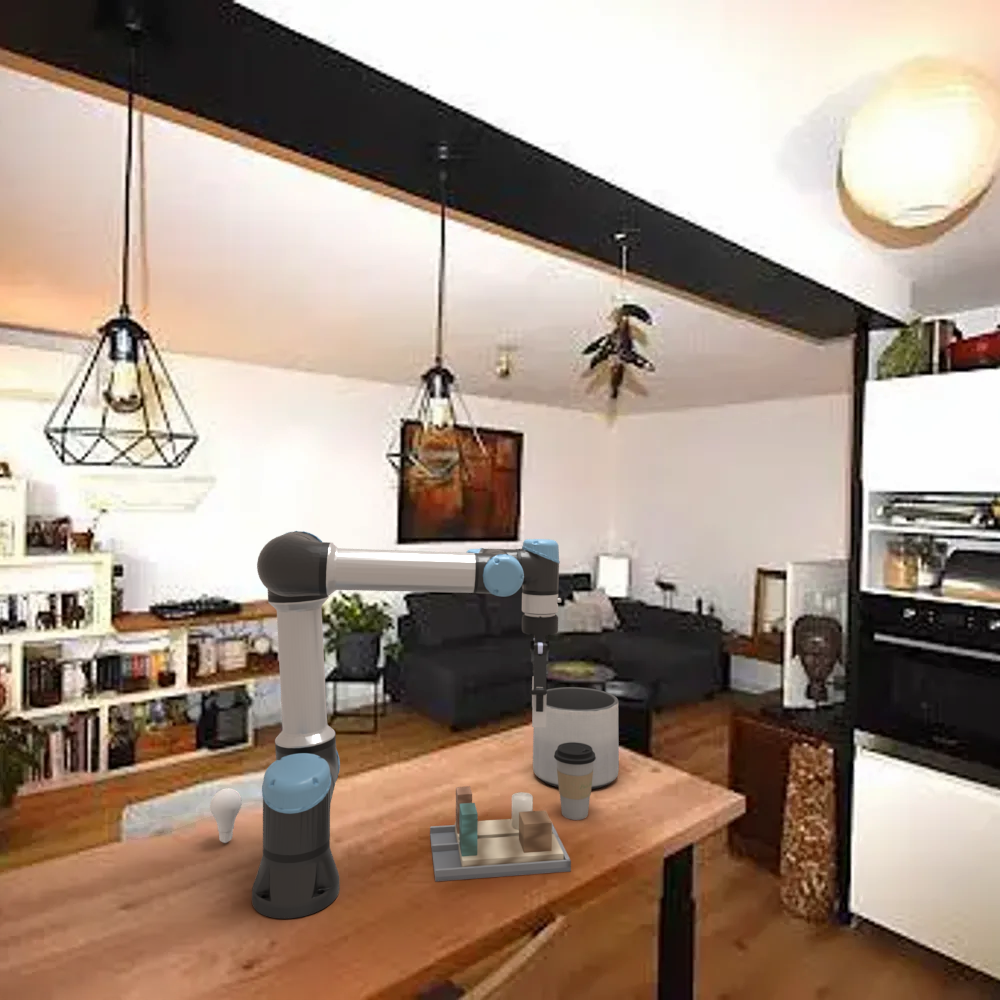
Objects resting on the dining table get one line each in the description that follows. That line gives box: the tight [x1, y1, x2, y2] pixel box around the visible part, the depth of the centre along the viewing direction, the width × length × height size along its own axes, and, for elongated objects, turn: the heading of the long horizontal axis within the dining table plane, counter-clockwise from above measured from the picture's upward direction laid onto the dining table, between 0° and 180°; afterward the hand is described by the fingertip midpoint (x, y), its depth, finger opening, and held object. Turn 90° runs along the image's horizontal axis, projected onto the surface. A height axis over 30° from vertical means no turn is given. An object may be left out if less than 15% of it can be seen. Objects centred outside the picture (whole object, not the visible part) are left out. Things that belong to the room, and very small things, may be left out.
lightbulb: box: [209, 787, 243, 844], centre depth 147 cm, size 6×6×11 cm
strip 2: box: [458, 802, 564, 867], centre depth 140 cm, size 20×8×10 cm, turn 99°
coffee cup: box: [554, 742, 596, 821], centre depth 161 cm, size 9×9×15 cm
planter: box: [532, 686, 620, 790], centre depth 184 cm, size 22×22×20 cm
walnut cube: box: [519, 809, 553, 853], centre depth 141 cm, size 6×6×6 cm
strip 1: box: [454, 785, 519, 843], centre depth 149 cm, size 20×6×10 cm, turn 99°
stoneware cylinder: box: [511, 791, 534, 830], centre depth 149 cm, size 4×4×6 cm
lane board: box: [429, 823, 572, 882], centre depth 144 cm, size 26×18×2 cm
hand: (538, 716), depth 147 cm, fingers open, 13 cm apart
